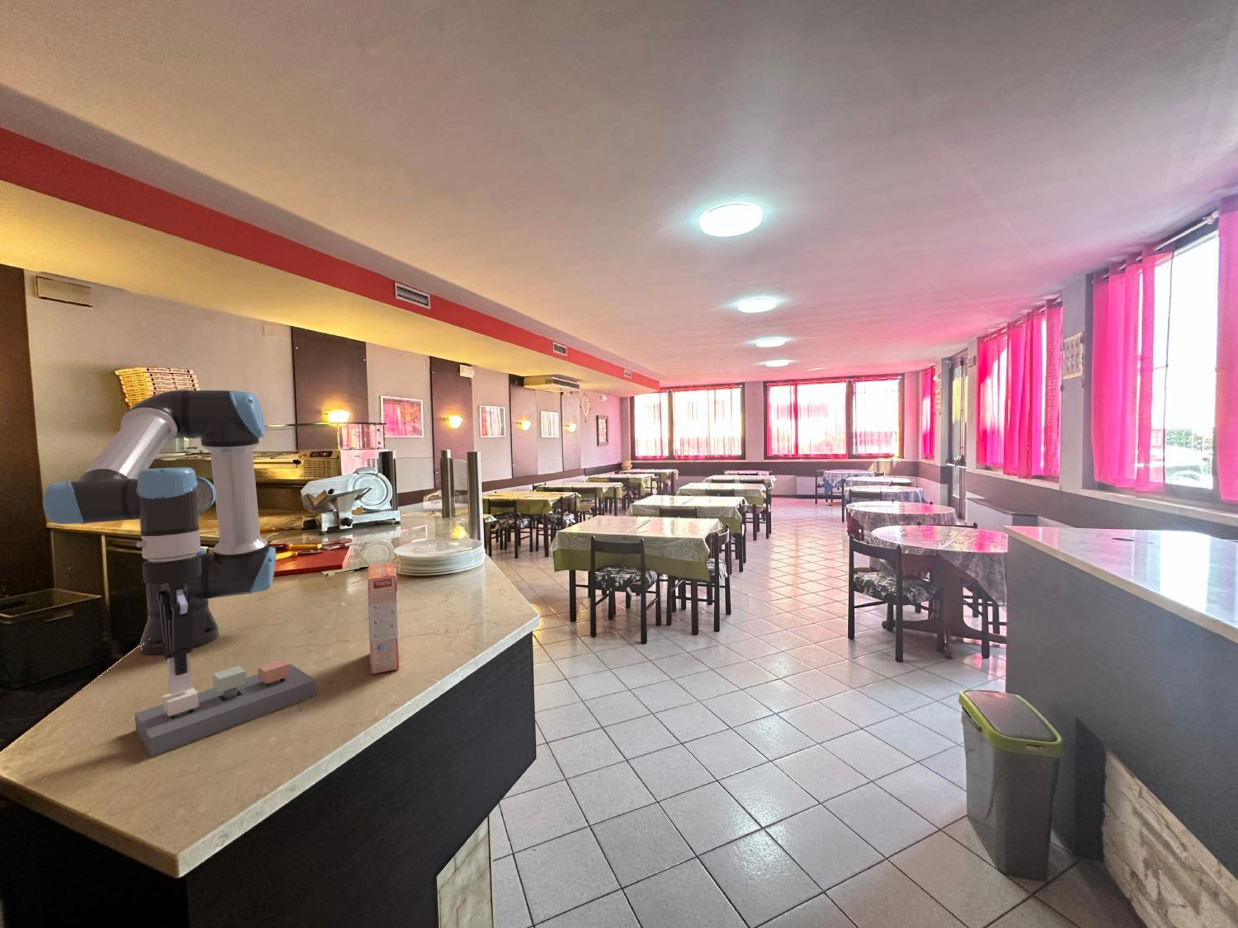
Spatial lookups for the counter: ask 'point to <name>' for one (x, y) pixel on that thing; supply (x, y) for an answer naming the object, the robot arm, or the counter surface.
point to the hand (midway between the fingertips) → (180, 690)
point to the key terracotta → (273, 672)
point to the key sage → (229, 681)
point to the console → (221, 711)
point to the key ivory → (180, 702)
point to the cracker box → (383, 618)
